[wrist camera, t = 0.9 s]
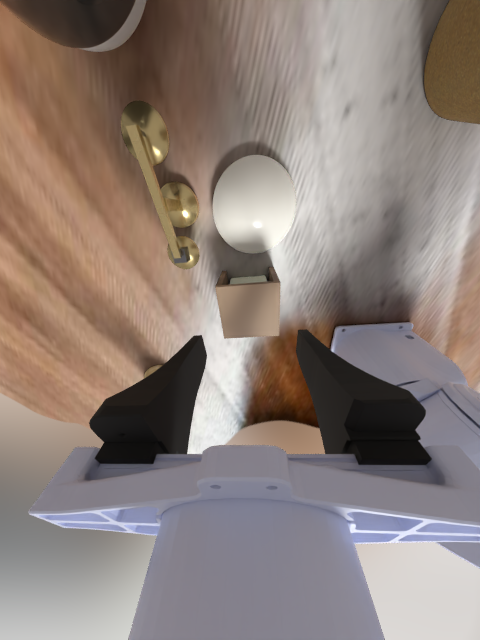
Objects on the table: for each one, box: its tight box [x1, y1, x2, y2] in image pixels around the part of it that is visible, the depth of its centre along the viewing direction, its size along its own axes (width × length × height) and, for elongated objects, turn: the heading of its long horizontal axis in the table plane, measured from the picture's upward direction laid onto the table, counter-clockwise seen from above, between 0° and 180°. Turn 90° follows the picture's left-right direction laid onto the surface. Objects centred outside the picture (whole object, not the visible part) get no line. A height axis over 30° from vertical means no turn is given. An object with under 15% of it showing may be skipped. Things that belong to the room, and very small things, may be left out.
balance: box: [121, 101, 200, 269], centre depth 15 cm, size 4×11×6 cm, turn 5°
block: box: [230, 275, 267, 284], centre depth 20 cm, size 4×4×4 cm
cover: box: [215, 267, 280, 338], centre depth 20 cm, size 6×6×5 cm
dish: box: [213, 155, 296, 254], centre depth 17 cm, size 8×8×1 cm
